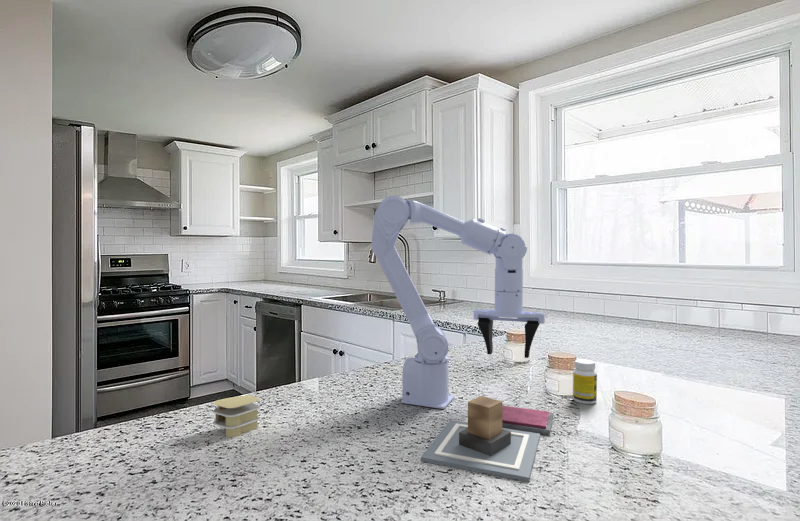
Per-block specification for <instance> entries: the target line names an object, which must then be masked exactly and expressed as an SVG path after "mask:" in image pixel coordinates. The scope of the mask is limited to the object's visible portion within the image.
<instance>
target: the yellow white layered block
mask: <svg viewBox="0 0 800 521" xmlns="http://www.w3.org/2000/svg"><path fill="white" fill-rule="evenodd" d="M258 401H260V399H259V398H257V397H255V396H253V395H251V394H248V395H243V396H242V395H241V396H233V397H226V398H222V399H217V400H215V401H214V402H213V403H212V404H213V406H218V407H215V408H214V409H213V410H212V413H213V414H215V416H214V417H215V419H214V421H213V422H212V425H213V426H217V427H220V428H224V429H225V437H227V438H235V437H238V436H240V435H241V434H243V433H246V432H251V431H255V430H257V429H258V424H259V423H258V421H261V418H260V417H259V416H258V410H259V409H260V410H261V407H260V406H259V405H257V404H256V403H255V402H258Z"/></svg>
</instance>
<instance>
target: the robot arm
mask: <svg viewBox="0 0 800 521" xmlns="http://www.w3.org/2000/svg"><path fill="white" fill-rule="evenodd" d="M408 221H410V222H409V223H410V224H409V225H415V224H417V225H418V224H427V225H429V226H431V227H435V228H437V229H440V230H443V231H446V232H448V233H451V234H454V235H455V236H458V237H459V238H460V241H461V243H462V244H463V245H465V246H467V247H469V248H472V249H474V250H477V251H479V252H482V253H484V254H488V255H493V257H494V258H495V268H494V309H473V320H478V322H477V326H478V328H479V331H480V333H481V335H482V337H483V339H484V340H483V341H484V344H485V347H486V348H485V349H486V353H487V355H488V356H489V355H492V354H493V352H494V351H493V350H494V347H493V343H494V342H493V329H494V328H493V327H494V321H500V322H501V321H505V322H518V323H519V322H521V323H525V324H524V335H525V336H524V341H525V344H524V358H525V359H529V357H530V352H531V347H532V342H533V341H534V337H535V335H536V333H537V330H538V328H539V327H540V324H545V322H546V321H545V320H546V313H545V312H537V311H536V312H534V311H525V310H523V306H524V305H523V296H524V295H523V294H524V293H523V292H524V290H523V289H524V288H523V287H524V285H523V284H524V281H523V280H524V278H523V277H524V270H523V259H524V257H525V256H526V254H527V251H528V247H527V246H526V244H525V241H524V239H523V238H522V237H521V236H520V235H518V234H515V233H506V230H507V229H506V228H504V227H499V228H498V227H495V226H493V225H490V224H488V223H485V219H483V218H480V217H479V218H477V219H475V218H471V219H469V220H466V221H465V220H461V219H459V218H456V217H455V216H452V215H450V214H448V213H445V212H444V211H441V210H438V209H436V208H434V207H432V206H430V205H427V204H425V203H422V202H418V201H416V200H413V199H408V198H406V200H405V199H404V198H403V197H401V196H399V195H388V196H386V197H384V198H383V199H382V201H381V202H380V203H379V205H378V207H377V209H376V211H375V213H374V214H373V225H372V226H373V227H372V235H371V245H370V247H371V250H372V252H373V253H374V256H375V257H376V259H377V262H378V263H379V266H380V268H381V269H382V271H383V273H384V276H385V277H386V279H387V281H388V283H389V285H390V287H391V289H392V291H393V293H394V295H395V297H396V300H397V301H398V303H399V305H400V307H401V308H402V311H403V312H404V315H405V317H406V319H407V320H408V323H409V325H410V327H411V330H412V332H413V335H414V336H415V339H416V343H417V344H416V348H417V353H416V354H415V355H414V357H407V358H406V359H405V360H404V363H403V367H402V375H401V377H402V381H401V382H402V383H401V384H402V385H401V386H402V388H401V390H402V395H401V397H402V398H401V401H400V403H402V404H406V405H413V406H421V407H425V408H426V407H427V408H435V409H439V410H440V409H443V410H444V409H446V408H447V407H448V405H449V404H450V403H451V402H452V401H453V400H454V398H455V395H454V394H449V390H450V389H449V386H450V384H449V376H450V375H449V372H450V371H449V368H450V367H449V362H450V361H449V359H450V358H449V356H448V352H449V342H448V339H447V338H446V335H445V333H444V331H443V329H442V328H441V327H439V326H438V325H436V324H435V322H434V321H433V319H432V317H431V315H430V314H429V311H428V309H427V307H426V306H425V303H424V302H423V300H422V298H421V296H420V294H419V292H418V289H417V288H416V286H415V284H414V282H413V280H412V278H411V276H410V273H409V272H408V270H407V268H406V267H405V266H406V265H405V264H404V262H403V260H402V258H401V256H400V254H399V253H398V250H397V248H396V243H397V240H398V238H399V235H400V232H401V231H402V229H403V228H404V227H405V225H406V224H407V222H408Z"/></svg>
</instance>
